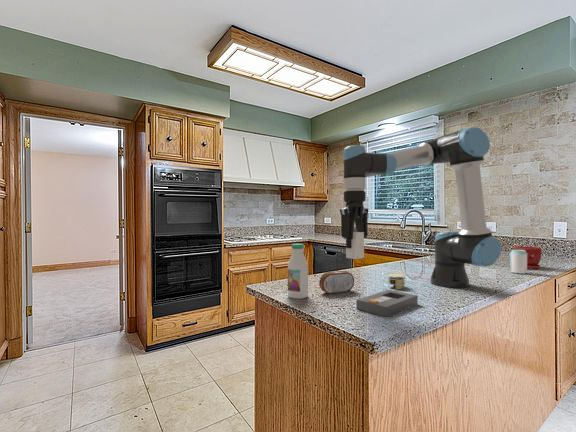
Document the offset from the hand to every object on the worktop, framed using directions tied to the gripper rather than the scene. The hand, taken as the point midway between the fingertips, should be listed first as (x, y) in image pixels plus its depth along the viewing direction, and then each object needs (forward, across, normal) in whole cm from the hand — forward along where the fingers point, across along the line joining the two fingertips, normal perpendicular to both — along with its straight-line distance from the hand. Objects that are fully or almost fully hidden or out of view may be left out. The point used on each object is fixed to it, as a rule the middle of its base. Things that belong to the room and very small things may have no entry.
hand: (355, 256), depth 110 cm
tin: (+17, -6, -14) cm, 22 cm away
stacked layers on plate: (+17, -32, -2) cm, 36 cm away
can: (+17, -107, +24) cm, 111 cm away
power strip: (+16, -4, +10) cm, 20 cm away
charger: (0, 0, 0) cm, 0 cm away
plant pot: (+17, -129, +23) cm, 132 cm away
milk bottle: (+16, +10, -19) cm, 27 cm away
